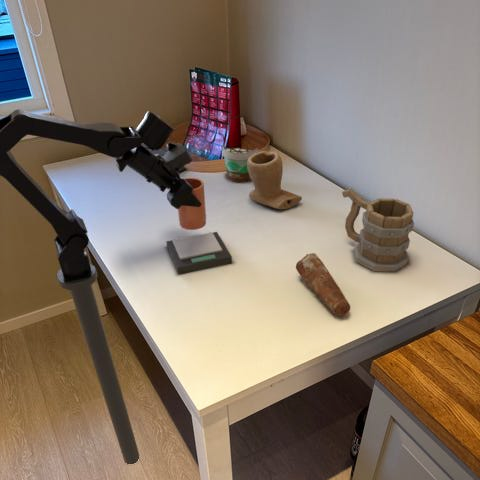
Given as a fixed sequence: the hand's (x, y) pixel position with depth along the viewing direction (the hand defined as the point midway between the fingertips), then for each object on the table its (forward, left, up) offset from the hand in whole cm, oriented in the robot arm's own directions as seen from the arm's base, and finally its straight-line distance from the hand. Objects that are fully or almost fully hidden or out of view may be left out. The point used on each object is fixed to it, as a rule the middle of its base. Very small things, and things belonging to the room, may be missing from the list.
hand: (196, 199), depth 124 cm
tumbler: (-1, 0, -7) cm, 7 cm away
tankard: (+40, -21, -13) cm, 47 cm away
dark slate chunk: (-1, +54, -13) cm, 56 cm away
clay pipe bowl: (+26, +13, -13) cm, 32 cm away
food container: (+22, +32, -13) cm, 41 cm away
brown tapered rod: (+22, -33, -13) cm, 41 cm away
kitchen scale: (-2, -7, -12) cm, 14 cm away
